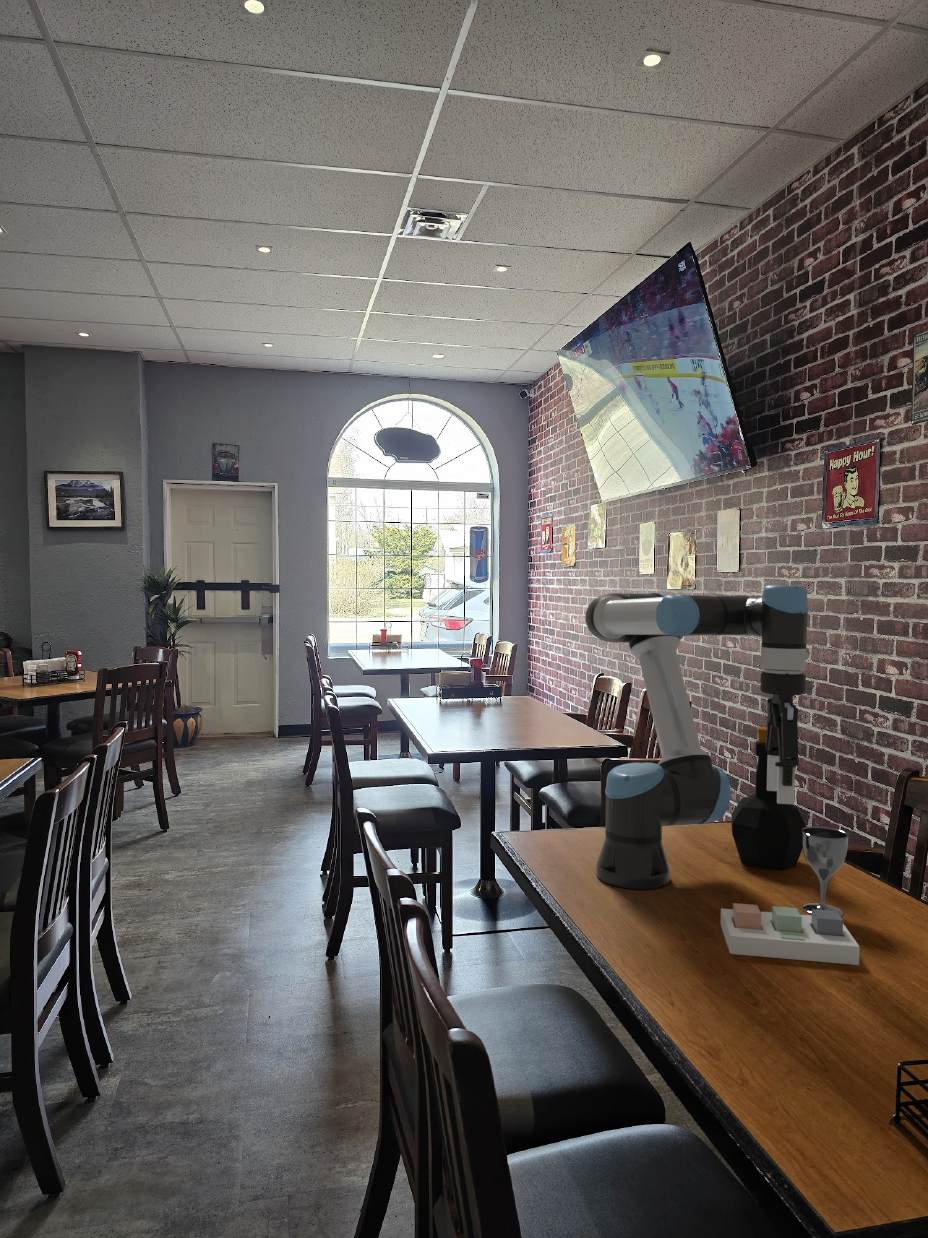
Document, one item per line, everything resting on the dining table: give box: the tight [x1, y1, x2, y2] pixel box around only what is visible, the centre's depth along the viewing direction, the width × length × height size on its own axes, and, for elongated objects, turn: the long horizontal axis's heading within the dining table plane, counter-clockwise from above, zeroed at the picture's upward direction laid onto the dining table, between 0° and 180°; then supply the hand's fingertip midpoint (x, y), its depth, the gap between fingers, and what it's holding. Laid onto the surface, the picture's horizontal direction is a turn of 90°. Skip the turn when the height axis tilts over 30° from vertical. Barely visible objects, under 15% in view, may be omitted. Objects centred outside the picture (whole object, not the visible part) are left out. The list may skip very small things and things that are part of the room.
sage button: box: [771, 905, 802, 933], centre depth 139 cm, size 4×4×3 cm
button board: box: [720, 908, 860, 966], centre depth 139 cm, size 20×12×3 cm, turn 80°
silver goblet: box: [802, 825, 849, 918], centre depth 154 cm, size 8×8×15 cm
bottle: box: [730, 726, 808, 871], centre depth 182 cm, size 16×16×30 cm
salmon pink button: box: [732, 902, 762, 930], centre depth 140 cm, size 4×4×3 cm
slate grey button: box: [811, 909, 844, 936], centre depth 138 cm, size 4×4×3 cm
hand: (779, 796), depth 146 cm, fingers open, 9 cm apart
